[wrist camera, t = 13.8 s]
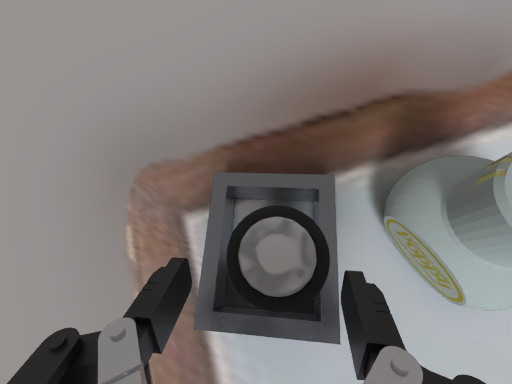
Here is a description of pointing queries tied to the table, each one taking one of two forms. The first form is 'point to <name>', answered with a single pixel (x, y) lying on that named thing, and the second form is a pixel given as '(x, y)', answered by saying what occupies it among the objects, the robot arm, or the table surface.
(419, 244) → the air freshener
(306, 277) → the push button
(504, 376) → the table surface
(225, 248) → the square socket
